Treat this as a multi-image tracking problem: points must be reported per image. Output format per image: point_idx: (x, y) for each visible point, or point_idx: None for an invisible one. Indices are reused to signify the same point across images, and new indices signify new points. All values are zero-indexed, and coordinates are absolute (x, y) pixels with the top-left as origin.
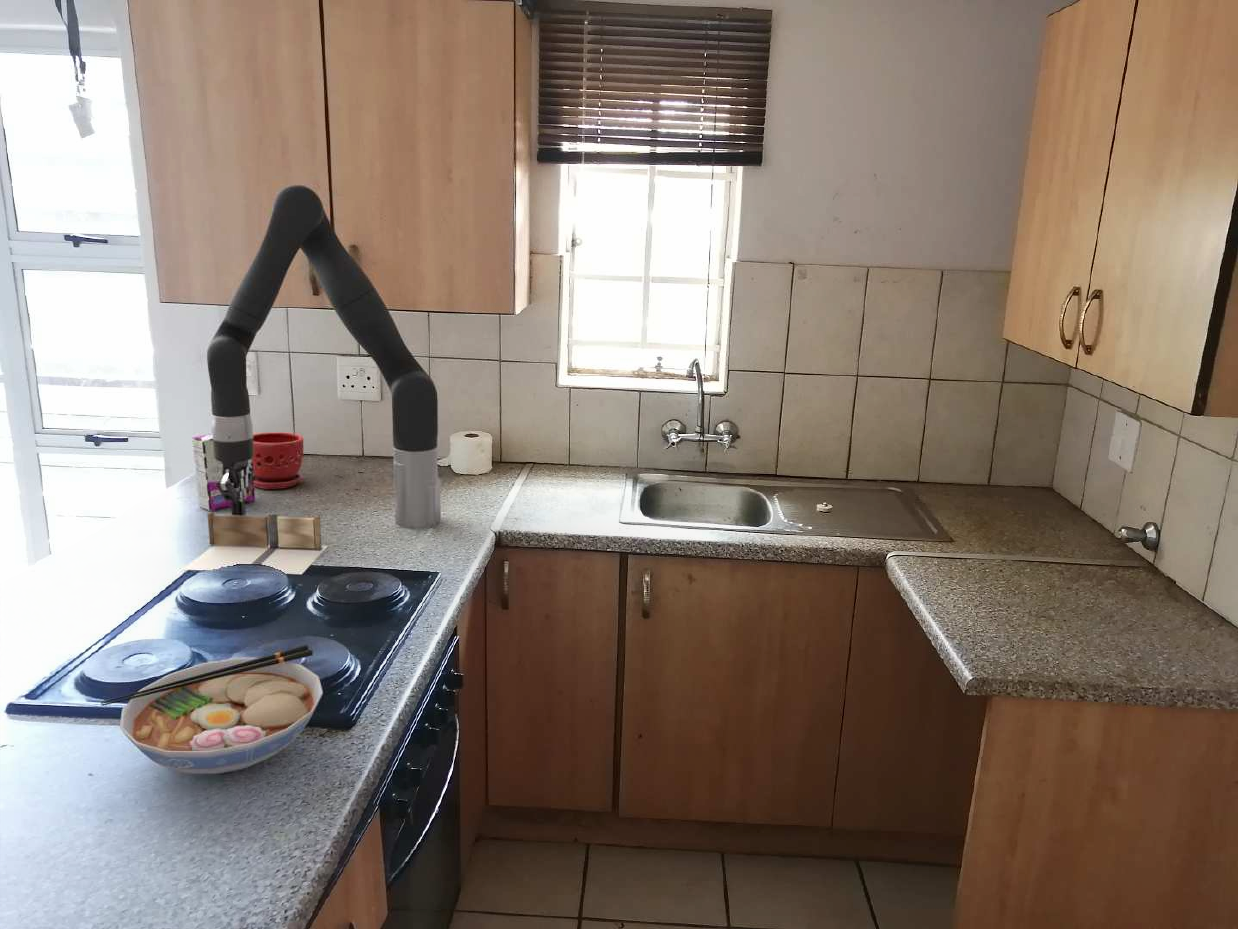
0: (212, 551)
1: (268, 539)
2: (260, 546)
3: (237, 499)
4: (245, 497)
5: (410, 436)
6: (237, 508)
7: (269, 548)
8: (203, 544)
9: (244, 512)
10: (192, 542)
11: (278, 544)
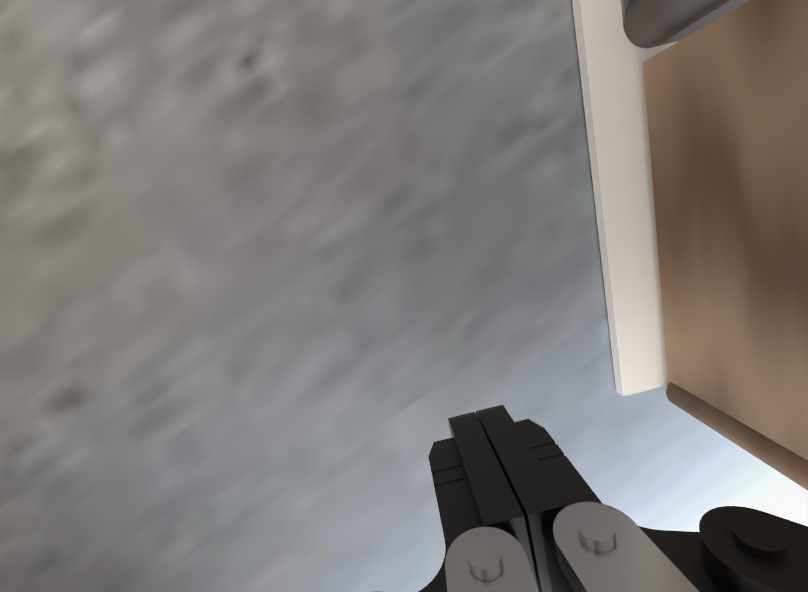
0: None
1: (679, 42)
2: (647, 121)
3: (756, 527)
4: (492, 540)
5: None
6: (577, 476)
7: (683, 30)
8: (638, 447)
9: (472, 430)
10: (623, 507)
11: (591, 24)
